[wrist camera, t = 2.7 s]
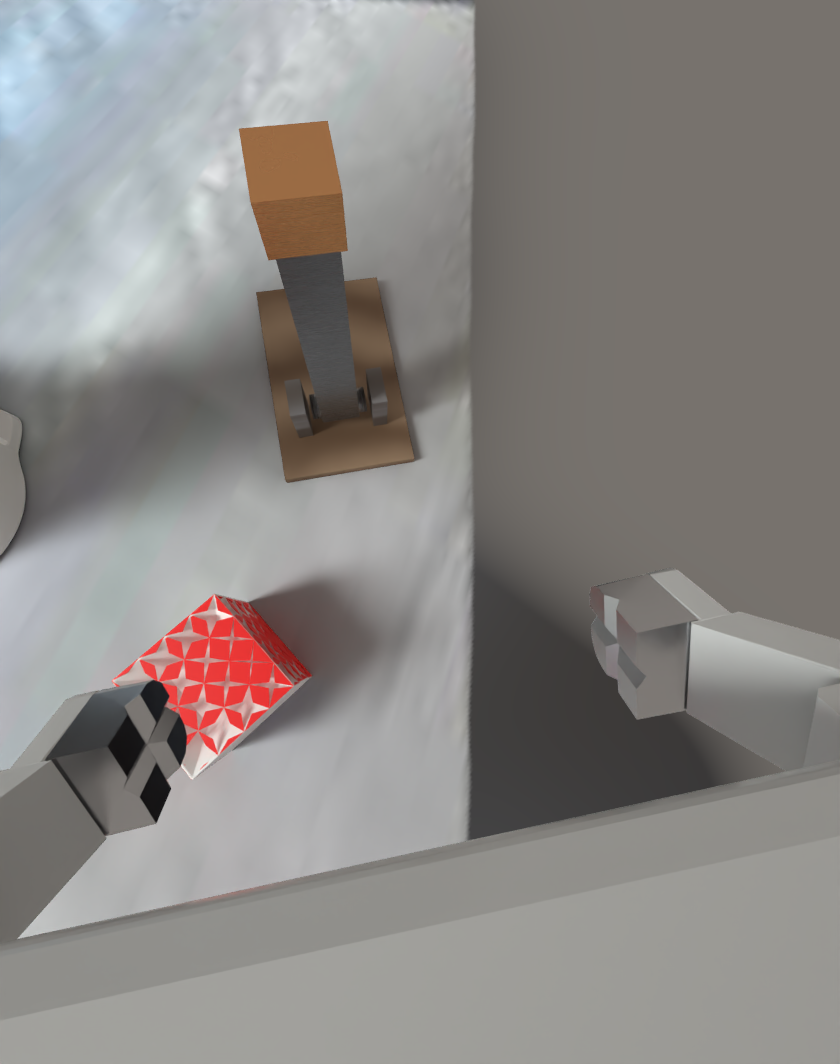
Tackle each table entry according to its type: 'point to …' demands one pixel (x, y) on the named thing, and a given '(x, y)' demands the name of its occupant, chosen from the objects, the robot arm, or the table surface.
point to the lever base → (300, 435)
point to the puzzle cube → (219, 676)
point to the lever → (307, 251)
